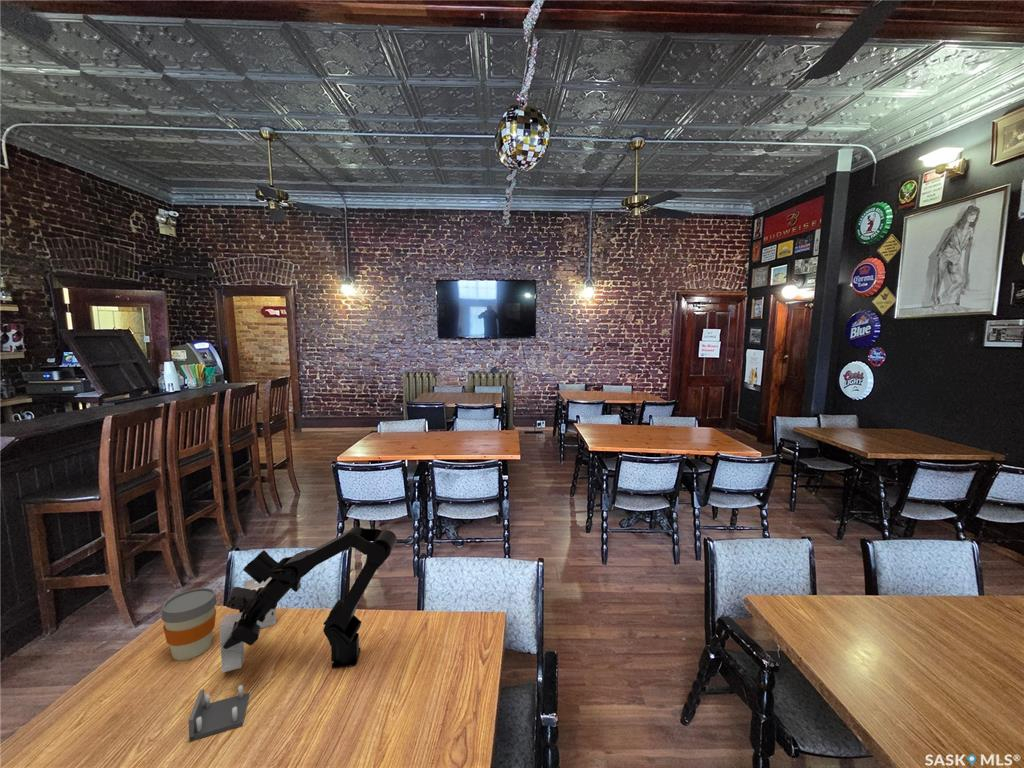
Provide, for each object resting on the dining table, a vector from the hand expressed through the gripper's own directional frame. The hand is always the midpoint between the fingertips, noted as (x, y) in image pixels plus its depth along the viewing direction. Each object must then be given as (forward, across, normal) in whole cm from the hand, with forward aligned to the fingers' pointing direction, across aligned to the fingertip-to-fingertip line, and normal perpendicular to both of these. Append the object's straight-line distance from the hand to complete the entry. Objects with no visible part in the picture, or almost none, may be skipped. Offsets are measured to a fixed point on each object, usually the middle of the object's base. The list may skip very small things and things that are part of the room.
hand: (226, 642), depth 111 cm
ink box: (+3, -19, +10) cm, 22 cm away
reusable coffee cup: (+14, -15, -2) cm, 21 cm away
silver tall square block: (+4, 0, +6) cm, 7 cm away
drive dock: (+5, +16, +7) cm, 18 cm away
